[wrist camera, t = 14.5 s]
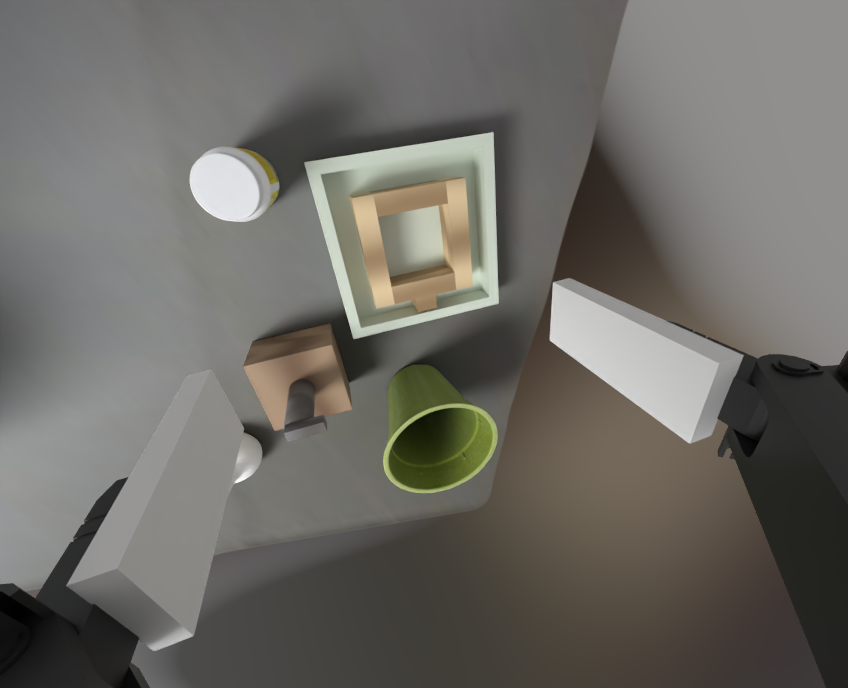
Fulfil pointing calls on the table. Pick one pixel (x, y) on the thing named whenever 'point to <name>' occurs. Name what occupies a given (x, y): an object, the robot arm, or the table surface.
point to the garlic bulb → (247, 459)
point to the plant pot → (434, 433)
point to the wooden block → (299, 380)
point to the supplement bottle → (234, 183)
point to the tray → (408, 226)
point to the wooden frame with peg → (454, 237)
